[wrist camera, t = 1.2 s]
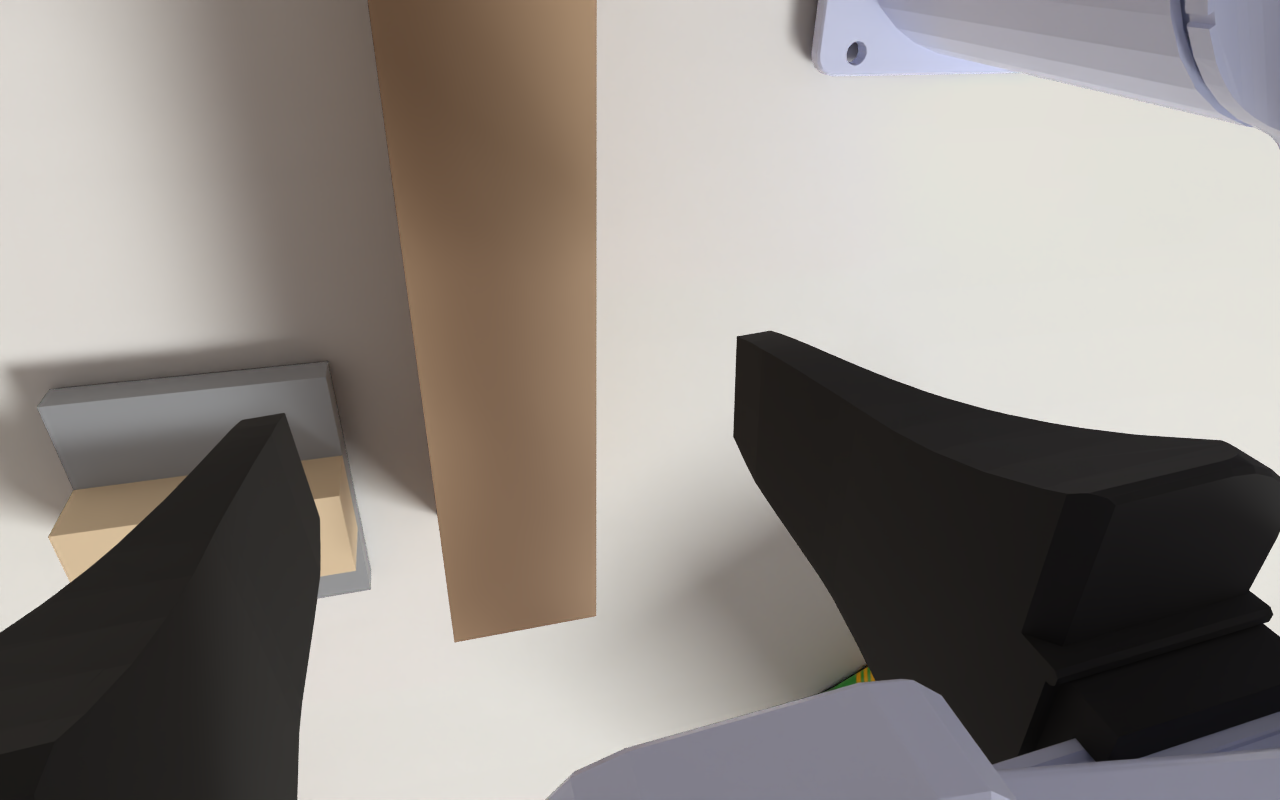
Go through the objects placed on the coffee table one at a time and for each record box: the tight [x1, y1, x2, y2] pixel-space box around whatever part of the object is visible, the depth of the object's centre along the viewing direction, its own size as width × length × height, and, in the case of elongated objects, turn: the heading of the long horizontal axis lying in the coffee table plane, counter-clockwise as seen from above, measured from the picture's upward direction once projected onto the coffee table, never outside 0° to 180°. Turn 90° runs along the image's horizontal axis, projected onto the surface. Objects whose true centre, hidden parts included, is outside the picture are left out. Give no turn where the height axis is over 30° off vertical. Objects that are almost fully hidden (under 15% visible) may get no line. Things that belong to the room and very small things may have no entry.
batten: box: [368, 0, 597, 642], centre depth 17 cm, size 4×16×5 cm, turn 178°
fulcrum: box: [37, 361, 371, 599], centre depth 19 cm, size 6×7×2 cm
